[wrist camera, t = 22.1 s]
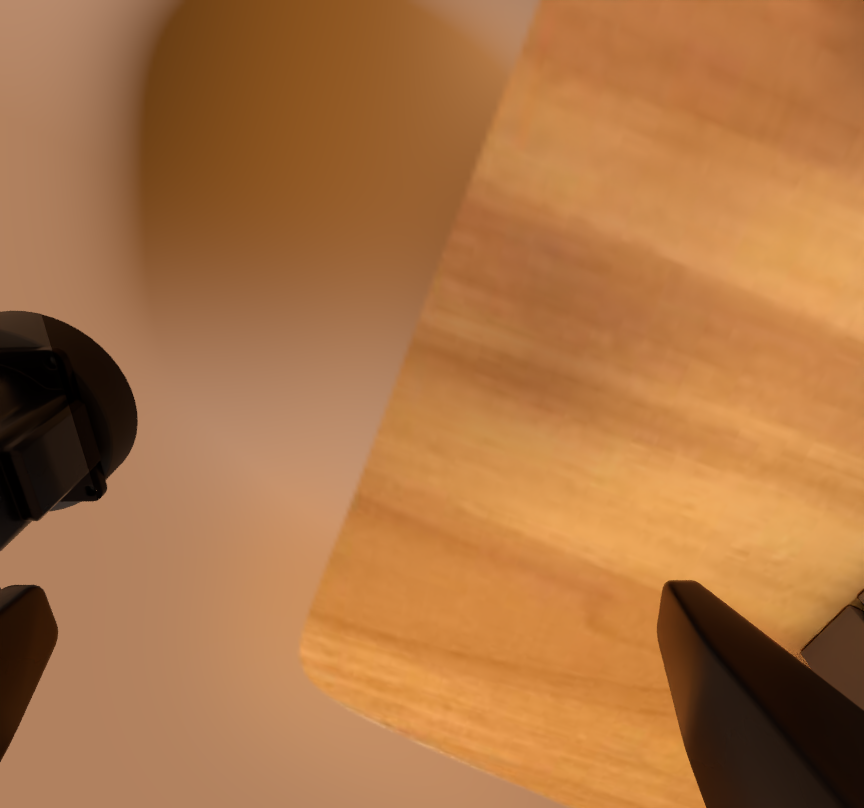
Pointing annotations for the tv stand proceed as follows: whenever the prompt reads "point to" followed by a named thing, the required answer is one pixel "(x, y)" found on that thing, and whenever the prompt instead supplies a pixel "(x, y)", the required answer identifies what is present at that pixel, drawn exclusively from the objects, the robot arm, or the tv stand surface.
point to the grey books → (841, 654)
